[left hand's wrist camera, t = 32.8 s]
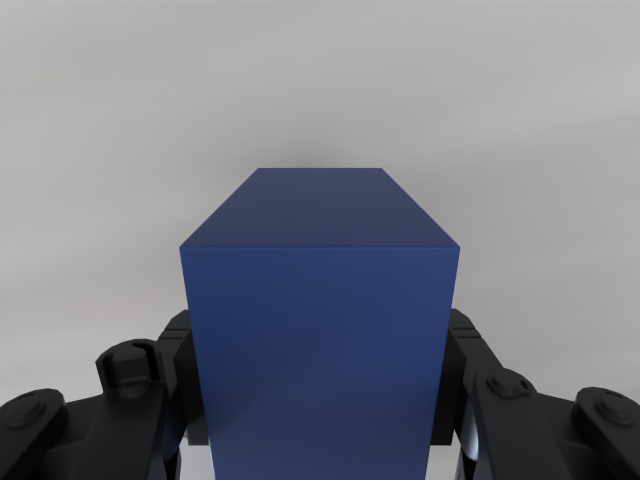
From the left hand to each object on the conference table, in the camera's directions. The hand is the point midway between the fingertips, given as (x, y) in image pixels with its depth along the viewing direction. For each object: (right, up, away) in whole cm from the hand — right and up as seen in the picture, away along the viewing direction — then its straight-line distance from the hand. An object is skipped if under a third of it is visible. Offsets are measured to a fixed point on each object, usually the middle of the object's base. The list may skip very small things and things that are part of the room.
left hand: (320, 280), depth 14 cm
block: (0, +1, +2) cm, 2 cm away
